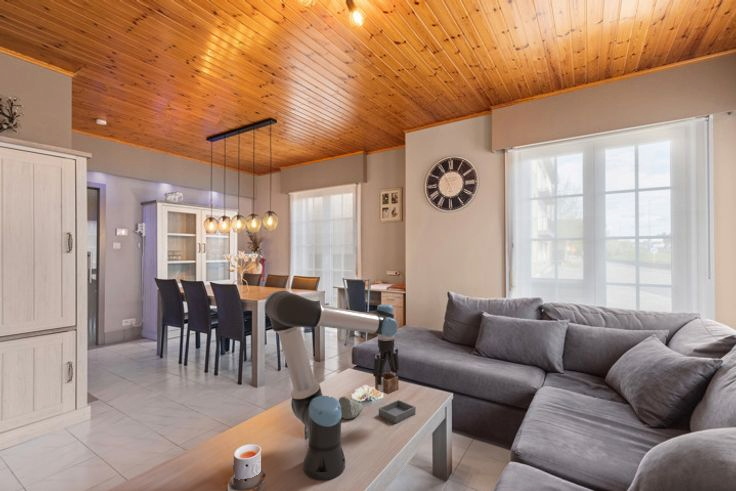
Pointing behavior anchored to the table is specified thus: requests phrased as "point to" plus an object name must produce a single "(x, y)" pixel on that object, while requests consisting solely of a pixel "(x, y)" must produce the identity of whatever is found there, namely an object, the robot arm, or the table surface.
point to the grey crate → (397, 411)
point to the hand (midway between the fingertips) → (386, 388)
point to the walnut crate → (388, 383)
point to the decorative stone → (349, 408)
